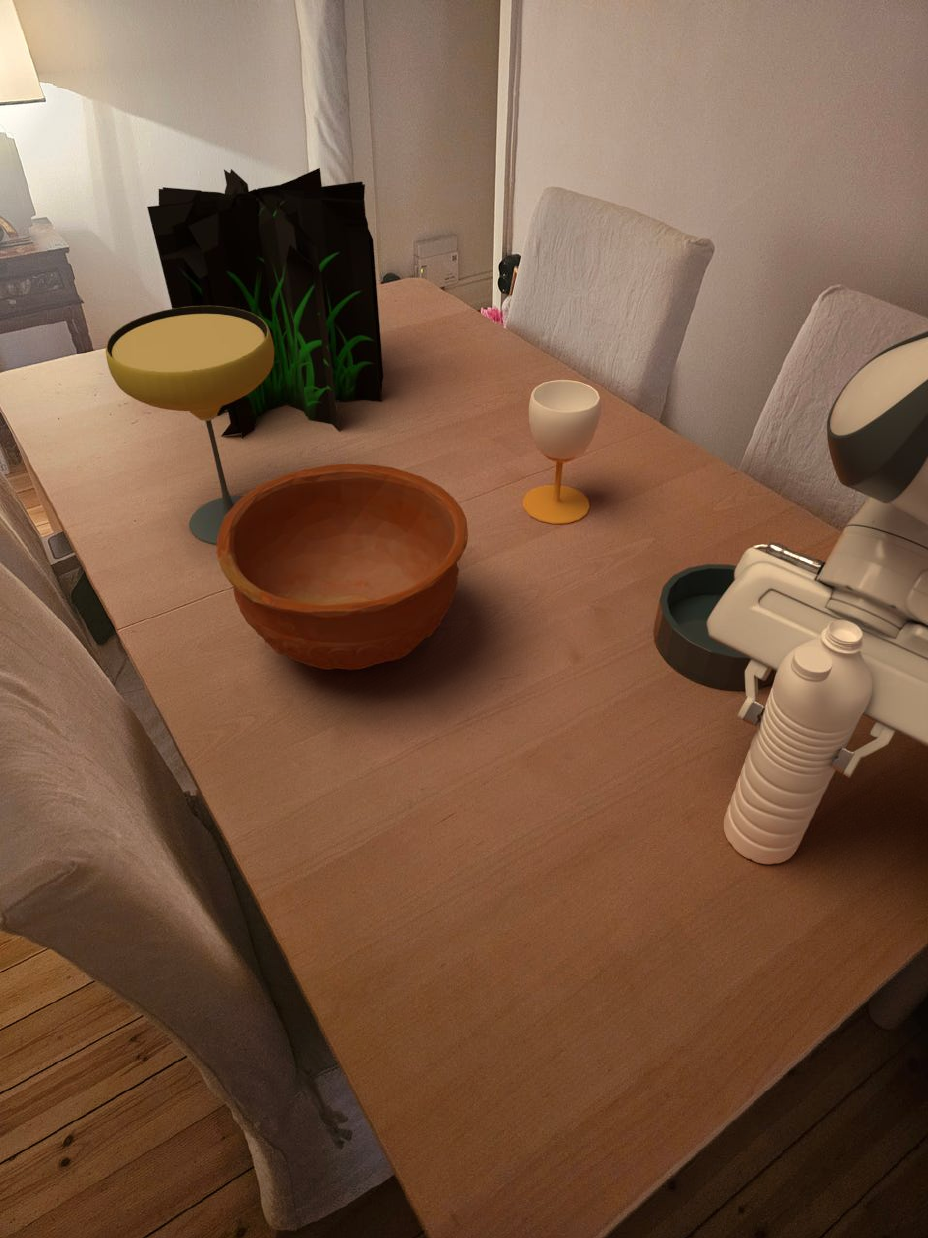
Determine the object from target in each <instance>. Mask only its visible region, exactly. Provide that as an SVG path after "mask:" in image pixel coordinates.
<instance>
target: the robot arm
mask: <svg viewBox="0 0 928 1238" xmlns="http://www.w3.org/2000/svg"><path fill="white" fill-rule="evenodd" d="M826 437H827V444H828V445H827V446H828V451H829V455H830V458H831V463H832V466H833V468H834V472H835V474H836V476H837V479H838V481H839V482H840V484H841V485H843V486H845V487H847V488H849V489H851V490H854V491H856V492H858V493H861V494H862V495H865V496H867V498H866V500H865V502H864V504H863V505H862V506H861V508H860V510H859V511H857V513H856V514H855V515H853V517H852V518H851V519H850V520H849V521H848V522H847V524H846V525H845V526H844V528H843V531H842V532H841V534H840V536H839V538H838V539H837V541H836V543H835V545H834V547H833V548H832V550H831V552H830V554H829V555H828V557H827V559H826V561H822V560H820V559H817V558H815V557H813V556H810V555H808V554H805V553H802V552H798V551H795V550H793V549H790V548H788V546H786V545H783V544H782V543H780V542H779V543H778V542H775V541H770V542H769V543H757V544H754V545H752V546H750V547H748V548H747V549H746V550H744V552H743V554H742V555H741V557H740V559H739V561H738V563H737V564H736V565H735V566H736V568H735V570H734V582H733V583H732V584H731V585H730V587H729V588H728V589H727V591H726V592H725V593H724V595H723V596H722V598H721V599H720V600H719V602H718V603H717V605H716V606H715V608H714V610H713V611H712V613H711V614H710V616H709V618H708V620H707V630H708V634H709V636H710V637H711V638H712V639H713V640H715V641H717V642H719V643H721V644H722V645H724V646H726V647H729V648H731V649H733V650H735V651H737V652H739V653H741V654H743V655H745V656H747V657H749V658H751V661H750V663H749V664H748V666H747V668H746V670H745V687H746V691H745V697H746V698H745V701H744V702H743V704H742V705H741V708H740V709H739V712H738V713H737V716H736V717H737V718H738V719H740V720H741V721H743V722H745V723H747V724H749V725H751V726H753V727H755V728H756V727H758V724H759V722H760V719H761V716H762V713H763V711H764V709H765V705H764V704H762V703H760V702H759V688H758V678H759V679H761V680H763V681H765V680H766V679H767V677H768V675H769V673H770V672H771V670H772V669H773V670H775V671H778V668H779V666H780V664H781V662H782V661H783V659H784V658H785V657H786V656H787V655H788V654H789V653H790V652H791V651H792V650H793V649H795V648H796V647H798V646H800V645H802V644H805V643H807V642H809V641H812V640H814V639H817V638H819V637H821V633H822V631H823V630H824V629H826V628H827V627H828V625H829V624H830V623H831V622H833V621H836V620H845V621H849V622H852V623H854V624H855V625H857V626H858V627H859V628H860V629H861V631H862V633H863V636H862V642H863V646H862V648H861V650H860V652H861V655H862V657H863V659H864V661H865V663H866V665H867V667H868V669H869V672H870V675H871V679H872V694H871V698H870V700H869V703H868V705H867V707H866V709H865V711H864V712H863V714H862V716H865V717H867V718H869V719H871V720H873V721H875V723H874V725H873V727H872V728H871V730H870V732H869V734H870V736H871V737H873V738H875V739H874V740H872V741H869V742H868V743H866V744H865V745H862V746H861V747H859V748H857V749H855V750H853V751H852V750H850V749H847V747H846V748H843V747H841V749H840V751H839V753H838V754H837V755H838V758H837V759H835V760H834V761H833V763H832V765H831V768H833V769H834V770H835V772H838V773H840V774H841V775H843V776H846V777H847V778H849V779H850V778H851V777H852V776H853V774H854V772H855V770H856V769H857V767H858V765H859V763H860V762H861V760H862V758H863V759H865V758H866V757H868V756H870V755H871V754H873V753H875V752H878V751H879V750H882V749H883V748H884V747H886V746H888V745H889V744H890V742H891V740H892V739H893V737H894V735H895V734H896V732H897V733H899V734H901V735H903V736H905V737H907V738H910V739H911V740H913V741H915V742H916V743H917V742H918V743H919V744H921V745H923V746H925V747H927V748H928V330H926V331H923V332H920V333H919V334H916V335H914V336H911V337H908V338H907V339H904V340H902V341H900V342H898V343H895V344H894V345H891V346H889V347H888V348H886V349H884V350H882V351H881V352H879V353H878V354H876V355H874V356H873V357H872V358H871V359H869V360H868V361H867V362H866V363H864V365H863V366H861V367H860V368H859V369H858V370H857V371H856V373H854V375H852V377H851V378H850V379H849V380H848V382H846V384H845V385H844V386H843V387H842V389H841V391H840V392H839V394H838V395H837V397H836V398H835V400H834V402H833V403H832V406H831V408H830V410H829V413H828V416H827V420H826ZM762 550H765V551H762Z"/></svg>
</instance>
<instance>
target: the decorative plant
mask: <svg viewBox="0 0 928 1238" xmlns="http://www.w3.org/2000/svg"><path fill="white" fill-rule="evenodd" d="M223 173H224V178H225V189H224V193H223V192H220V191H207V190H206V191H205V190H204V191H203V190H200V189H190V188H189V189H188V188H177V187H167V186H165V187H164V186H163V187H162V188H158V205H151V206H147V207H146V208H147V212H148V217H149V221H150V224H151V227H152V228H151V229H152V232H153V236H154V240H155V244H156V249H157V251H158V252H157V253H158V257H159V261H160V266H161V270H162V273H163V276H164V280H165V285H166V289H167V293H168V297H169V298H168V299H169V301H170V306H171V309H175V308H182V307H191V306H223V307H230V308H236V309H240V310H244V311H247V312H250V313H252V314H254V315H256V316H258V317H259V318H261V319H262V320H263V321H264V322H265V323H266V325H267V326H268V328H269V330H270V333H271V337H272V340H273V345H274V363H273V366H272V368H271V371H270V373H269V374H268V375H267V377H266V378H265V379H264V380H263V382H262V383H261V384H260V385H258V386H257V387H256V388H255V389H254V390H253V391H251V392H250V393H248V394H247V395H245V396H243V397H242V398H240V399H237V400H235V401H233V402H231V403H229V404H226V405H223V406H222V407H221V408H220V410H219V412H218V414H217V415H216V416H221V415H222V414H224V413H225V412H227V413H228V418H229V422H230V423H229V424H228V426H227V427H226V429H225V430H224V431H223V433H222V434H221V435H220V437H226V436H234V435H241V439H242V440H243V439H244V438H246V437H247V436H249V434H252V433H253V432H254V431H255V429H256V426H257V423H258V421H259V420H258V419H260V418H261V417H263V416H264V415H265V414H266V413H268V412H269V411H271V410H274V409H277V408H280V407H283V406H286V405H287V406H289V407H292V408H293V409H297V410H299V411H301V412H303V414H304V415H305V417H306V418H307V419H308V420H309V421H313V422H314V421H315V422H320V423H324V424H330V425H332V426H333V427H334V429H336V430H337V431H338V432H339V431H340V430H339V429H340V428H339V422H338V410H337V409H338V407H337V402H339V403H345V402H346V403H347V402H355V401H362V400H363V401H373V402H380V403H381V402H382V392H383V391H382V390H383V383H384V367H383V354H382V353H383V352H382V340H381V339H382V338H381V326H380V325H381V324H380V313H379V300H378V299H379V298H378V287H377V286H378V285H377V272H376V259H375V245H374V243H375V242H374V238H373V236H372V233H371V231H370V229H369V222H368V219H367V215H366V213H367V212H366V201H365V194H366V193H365V192H366V184H363V181H354V182H347V183H338V184H332V185H331V184H330V185H323V182H322V175H321V174H322V173H321V168H320V167H318V168H316V169H314V170H311V171H309V172H307V173H304V174H302V175H300V176H298V177H296V178H294V179H291V180H289V181H286V182H283V183H281V184H276V185H270V186H264V187H258V188H254V189H251V190H250V189H249V184H248V183H247V182H246V181H245V179H243V178H242V177H241V176H240V174H238V173H236V172H235V170H233V168H231V169H230V172H229V171H227V170H225V169H223Z"/></svg>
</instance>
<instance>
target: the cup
mask: <svg viewBox="0 0 928 1238" xmlns="http://www.w3.org/2000/svg"><path fill="white" fill-rule="evenodd" d="M601 403H602V402H601V397H600V393H599V391H597V390H596V389H595V388H594V387H592V386H591V385H589V384H586V383H583V382H581V381H576V380H570V379H557V380H556V379H555V380H550V381H545V382H543V383H541V384H539V385H537V386H535V388H533V390H532V392H531V394H530V399H529V402H528V422H529V428H530V432H531V437H532V440H533V442H534V445H535V448H536V449H537V450H538V451H539V452H540V453H541V454H542V455H543V456H545V457H546V458H547V459H548V460H550V461H553V462H555V463H556V464H555V474H554V484H544V485H542V486H537V487H533V488H532V489H531V490H529V491H528V492H527V493H525V495H524V497H523V499H522V501H521V502H522V508H523V510H524V511H525V512H526V513H527V515H528V516H530V517H531V518H533V519H535V520H537V521H538V522H541V523H546V524H551V525H567V524H572V523H575V522H578V521H580V520H581V519H582V518H584V517H585V516H586V515H587V514H588V512H589V510H590V507H591V506H590V502H589V499H588V498H587V497H586V496H585V495H584V493H582V492H581V491H580V490H578V489H575V488H574V487H571V486H566V485H562V476H563V466H564V465H563V464H564V463H567V462H570V461H573V460H574V459H576V458H578V457H580V456H581V455H583V454H584V453H585V452H586V450H587V449H588V447H589V446H590V445H591V442H592V441H593V439H594V436H595V434H596V432H597V430H598V427H599V423H600V417H601V413H602V408H601V407H602V405H601Z"/></svg>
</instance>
